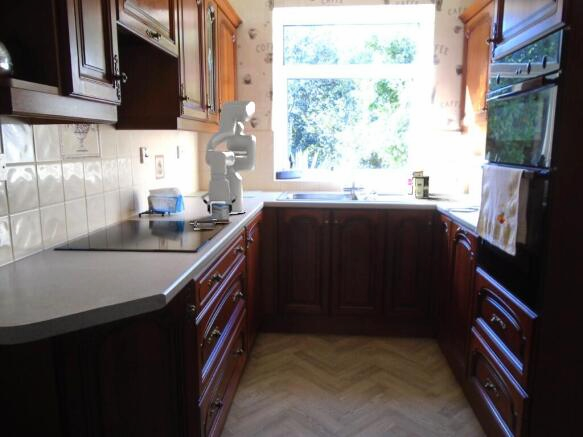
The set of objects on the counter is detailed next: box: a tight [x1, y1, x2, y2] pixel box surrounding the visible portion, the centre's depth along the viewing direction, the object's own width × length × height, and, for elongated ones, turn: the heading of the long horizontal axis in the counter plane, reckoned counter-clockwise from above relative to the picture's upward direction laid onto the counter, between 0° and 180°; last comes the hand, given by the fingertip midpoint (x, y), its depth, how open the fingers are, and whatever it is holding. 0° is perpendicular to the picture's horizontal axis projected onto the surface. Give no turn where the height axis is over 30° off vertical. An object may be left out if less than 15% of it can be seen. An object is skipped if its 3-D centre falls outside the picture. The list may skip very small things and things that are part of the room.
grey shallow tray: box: [192, 219, 216, 229], centre depth 201 cm, size 13×9×2 cm
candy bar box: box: [406, 169, 424, 195], centre depth 317 cm, size 11×5×16 cm, turn 126°
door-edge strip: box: [189, 218, 230, 224], centre depth 209 cm, size 1×18×2 cm, turn 98°
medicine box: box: [210, 202, 230, 220], centre depth 216 cm, size 8×4×9 cm, turn 52°
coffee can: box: [412, 175, 430, 199], centre depth 296 cm, size 10×10×14 cm
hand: (219, 213), depth 216 cm, fingers open, 9 cm apart
